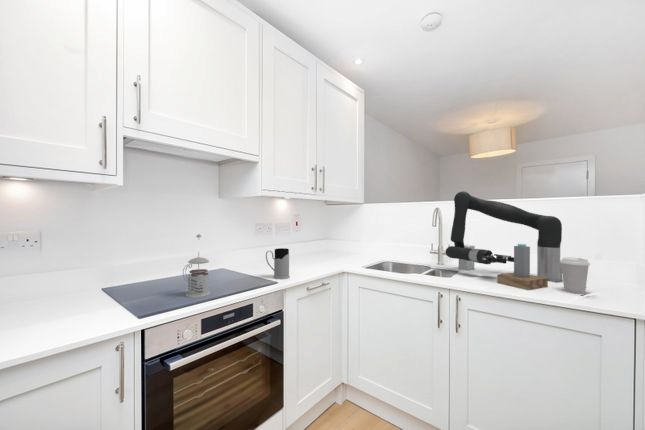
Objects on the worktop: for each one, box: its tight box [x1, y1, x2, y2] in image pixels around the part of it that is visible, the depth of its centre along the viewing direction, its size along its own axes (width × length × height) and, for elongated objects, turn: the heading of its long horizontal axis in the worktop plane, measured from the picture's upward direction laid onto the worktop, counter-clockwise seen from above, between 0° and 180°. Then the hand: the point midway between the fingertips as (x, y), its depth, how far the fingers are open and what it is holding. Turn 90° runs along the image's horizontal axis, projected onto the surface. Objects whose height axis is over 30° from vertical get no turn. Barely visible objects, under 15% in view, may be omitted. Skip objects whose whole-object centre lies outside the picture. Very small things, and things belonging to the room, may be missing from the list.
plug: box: [513, 243, 531, 278], centre depth 129 cm, size 4×4×19 cm
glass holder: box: [265, 247, 291, 280], centre depth 148 cm, size 9×14×15 cm, turn 68°
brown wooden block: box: [496, 271, 549, 291], centre depth 129 cm, size 14×14×5 cm
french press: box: [182, 234, 212, 298], centre depth 116 cm, size 10×12×25 cm
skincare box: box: [458, 244, 476, 271], centre depth 171 cm, size 8×6×15 cm
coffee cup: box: [560, 256, 591, 297], centre depth 118 cm, size 10×10×15 cm
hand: (511, 260), depth 133 cm, fingers open, 8 cm apart
